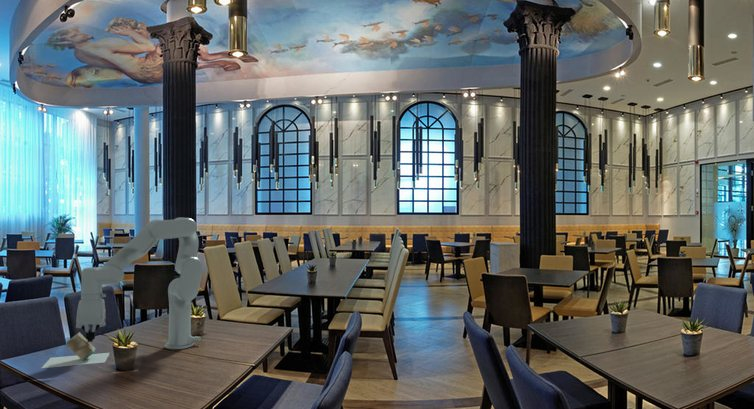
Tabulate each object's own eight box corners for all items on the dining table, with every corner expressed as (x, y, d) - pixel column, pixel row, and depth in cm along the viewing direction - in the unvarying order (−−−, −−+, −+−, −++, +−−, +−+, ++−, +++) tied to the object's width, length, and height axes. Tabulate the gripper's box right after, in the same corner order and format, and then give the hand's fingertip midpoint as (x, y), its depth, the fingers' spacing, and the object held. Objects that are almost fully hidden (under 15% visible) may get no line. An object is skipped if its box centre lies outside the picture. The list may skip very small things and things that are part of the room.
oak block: (96, 349, 203) (79, 332, 201) (94, 352, 199) (76, 335, 196) (85, 357, 202) (68, 340, 200) (83, 361, 197) (65, 343, 195)
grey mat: (110, 354, 209) (110, 352, 209) (104, 364, 196) (104, 362, 196) (50, 359, 201) (50, 357, 201) (41, 370, 188) (41, 368, 188)
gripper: (113, 294, 207) (112, 337, 207) (72, 296, 201) (71, 340, 201) (110, 297, 200) (109, 341, 200) (68, 299, 194) (67, 345, 194)
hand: (90, 341), depth 200 cm, fingers closed
